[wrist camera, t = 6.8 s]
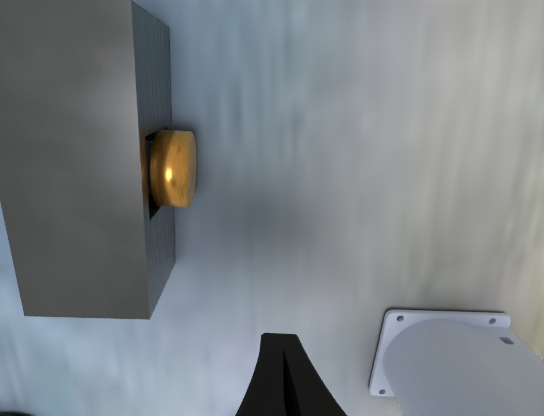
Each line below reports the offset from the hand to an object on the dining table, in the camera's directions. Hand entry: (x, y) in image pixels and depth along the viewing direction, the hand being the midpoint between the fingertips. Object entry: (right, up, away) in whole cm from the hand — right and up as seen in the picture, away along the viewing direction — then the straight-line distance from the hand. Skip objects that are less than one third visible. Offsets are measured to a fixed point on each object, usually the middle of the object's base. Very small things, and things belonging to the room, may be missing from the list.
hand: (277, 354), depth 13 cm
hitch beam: (-9, +9, +7) cm, 14 cm away
